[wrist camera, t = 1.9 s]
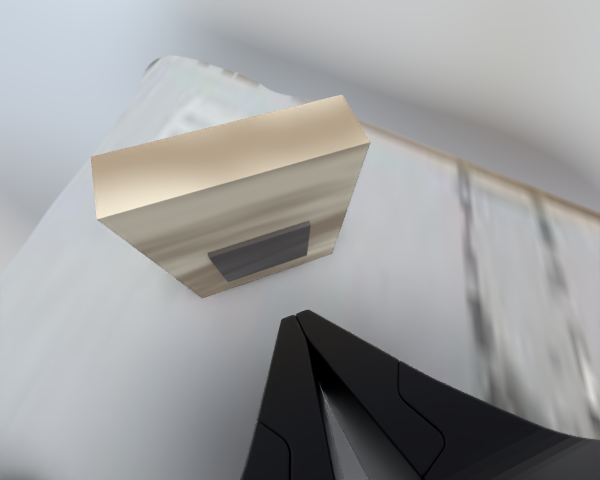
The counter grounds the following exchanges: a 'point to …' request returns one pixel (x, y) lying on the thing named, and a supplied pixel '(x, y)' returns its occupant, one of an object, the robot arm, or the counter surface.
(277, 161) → the birch slab
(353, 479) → the counter surface
